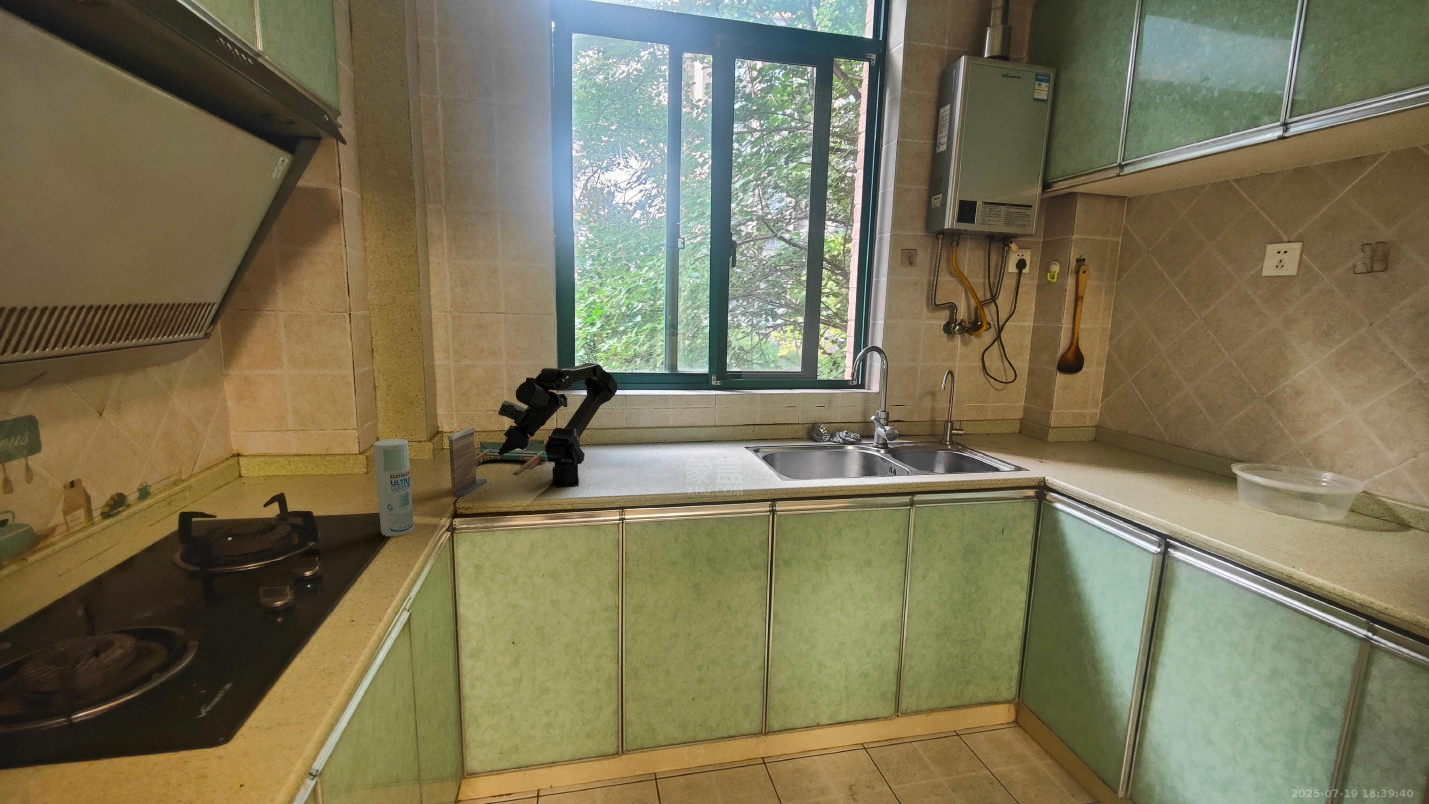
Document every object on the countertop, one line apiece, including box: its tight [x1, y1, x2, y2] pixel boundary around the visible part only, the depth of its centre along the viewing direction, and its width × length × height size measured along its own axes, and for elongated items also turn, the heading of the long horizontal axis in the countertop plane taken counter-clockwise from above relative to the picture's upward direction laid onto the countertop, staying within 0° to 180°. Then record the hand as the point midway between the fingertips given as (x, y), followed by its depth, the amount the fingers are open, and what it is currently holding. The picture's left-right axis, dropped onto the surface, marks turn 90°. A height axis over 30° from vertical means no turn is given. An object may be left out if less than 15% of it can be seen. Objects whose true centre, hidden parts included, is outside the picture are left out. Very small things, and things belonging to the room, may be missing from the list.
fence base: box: [454, 478, 488, 498], centre depth 154 cm, size 2×12×2 cm, turn 173°
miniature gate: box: [475, 437, 548, 476], centre depth 183 cm, size 27×6×30 cm
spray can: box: [372, 438, 414, 537], centre depth 126 cm, size 6×6×20 cm
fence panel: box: [447, 426, 477, 494], centre depth 153 cm, size 1×10×15 cm, turn 173°
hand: (499, 454), depth 153 cm, fingers closed
